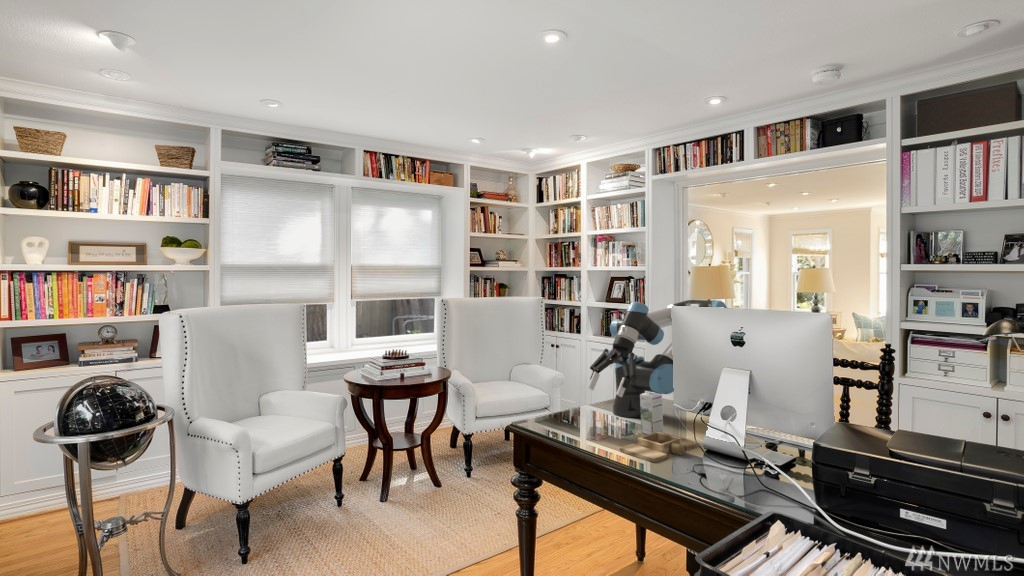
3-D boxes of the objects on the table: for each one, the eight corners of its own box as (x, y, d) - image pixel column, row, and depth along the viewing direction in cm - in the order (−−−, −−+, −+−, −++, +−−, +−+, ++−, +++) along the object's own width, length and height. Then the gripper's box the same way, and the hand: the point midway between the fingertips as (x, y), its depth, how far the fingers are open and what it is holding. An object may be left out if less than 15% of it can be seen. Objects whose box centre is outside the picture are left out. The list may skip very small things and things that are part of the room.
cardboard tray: (615, 450, 177) (615, 439, 177) (660, 435, 190) (659, 425, 190) (658, 464, 163) (658, 452, 163) (703, 447, 176) (703, 436, 176)
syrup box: (664, 433, 192) (662, 393, 192) (652, 437, 189) (651, 396, 188) (651, 430, 197) (650, 391, 196) (640, 433, 193) (639, 393, 193)
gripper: (594, 332, 208) (573, 382, 201) (647, 339, 188) (626, 394, 182) (605, 341, 212) (585, 390, 205) (658, 348, 192) (637, 403, 186)
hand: (604, 392), depth 193 cm, fingers open, 13 cm apart
